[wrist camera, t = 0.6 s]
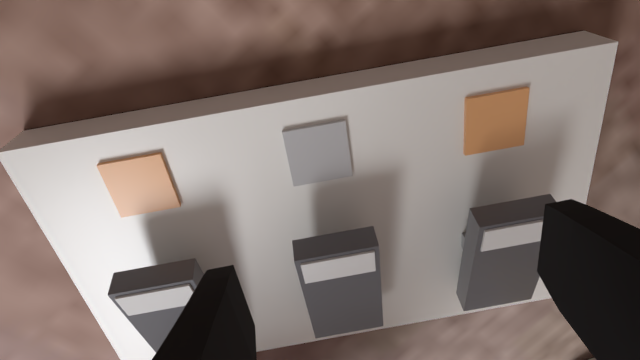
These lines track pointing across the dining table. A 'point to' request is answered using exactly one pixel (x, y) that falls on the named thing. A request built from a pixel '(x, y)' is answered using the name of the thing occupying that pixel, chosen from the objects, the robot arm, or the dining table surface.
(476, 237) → the block
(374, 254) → the block
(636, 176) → the dining table surface
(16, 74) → the dining table surface
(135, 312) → the block
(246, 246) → the switch panel
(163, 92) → the dining table surface
